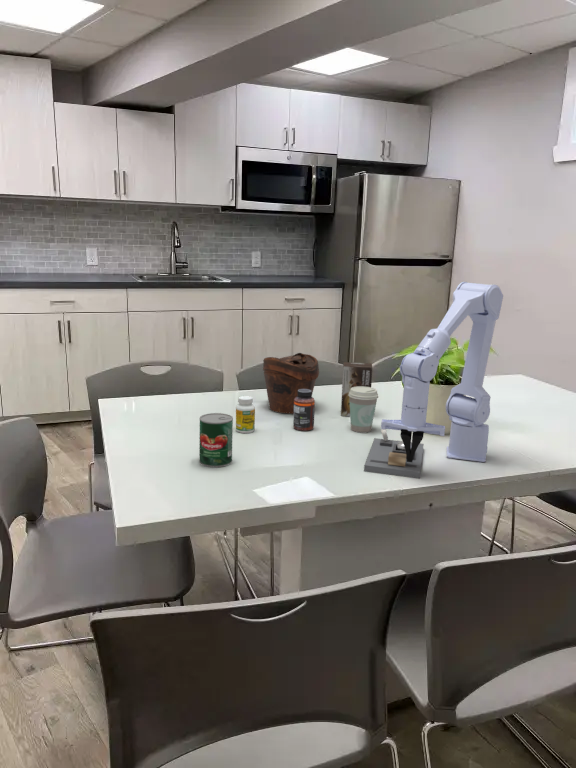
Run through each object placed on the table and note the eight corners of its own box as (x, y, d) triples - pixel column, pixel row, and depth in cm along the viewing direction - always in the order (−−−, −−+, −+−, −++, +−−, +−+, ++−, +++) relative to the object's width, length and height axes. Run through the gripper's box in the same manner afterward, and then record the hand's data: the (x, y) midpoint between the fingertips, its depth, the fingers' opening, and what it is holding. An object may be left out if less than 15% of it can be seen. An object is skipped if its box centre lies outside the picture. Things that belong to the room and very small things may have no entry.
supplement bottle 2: (309, 424, 174) (311, 387, 172) (316, 430, 169) (318, 392, 166) (290, 425, 172) (291, 388, 170) (297, 432, 167) (298, 393, 164)
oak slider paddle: (405, 461, 142) (406, 454, 142) (405, 466, 139) (405, 458, 139) (389, 459, 143) (389, 452, 143) (387, 464, 140) (388, 456, 140)
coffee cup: (352, 434, 166) (355, 393, 164) (342, 425, 174) (344, 386, 172) (380, 433, 169) (383, 392, 166) (368, 424, 177) (371, 385, 174)
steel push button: (411, 448, 149) (412, 442, 148) (411, 453, 145) (411, 447, 145) (397, 446, 150) (397, 440, 149) (396, 451, 146) (396, 445, 146)
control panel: (423, 449, 157) (424, 437, 156) (419, 478, 137) (421, 465, 136) (374, 443, 160) (374, 432, 159) (363, 471, 140) (364, 458, 139)
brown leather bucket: (317, 400, 200) (318, 348, 196) (318, 418, 181) (320, 360, 177) (264, 399, 201) (264, 347, 196) (260, 416, 181) (261, 359, 177)
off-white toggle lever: (388, 439, 155) (385, 426, 155) (388, 440, 154) (384, 427, 154) (384, 440, 155) (380, 427, 155) (383, 441, 154) (380, 428, 154)
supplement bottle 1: (248, 426, 170) (249, 394, 168) (258, 431, 166) (259, 398, 164) (232, 429, 167) (232, 396, 165) (241, 434, 163) (241, 401, 161)
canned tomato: (201, 468, 138) (201, 423, 135) (197, 456, 145) (197, 413, 143) (235, 466, 140) (236, 421, 138) (228, 454, 148) (229, 412, 145)
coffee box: (369, 412, 189) (372, 362, 186) (369, 418, 183) (373, 367, 179) (340, 410, 190) (343, 361, 186) (340, 416, 184) (343, 365, 180)
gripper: (381, 406, 135) (377, 462, 138) (447, 413, 132) (441, 470, 135) (384, 399, 142) (380, 452, 145) (446, 405, 138) (441, 460, 142)
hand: (409, 460), depth 140 cm, fingers closed
